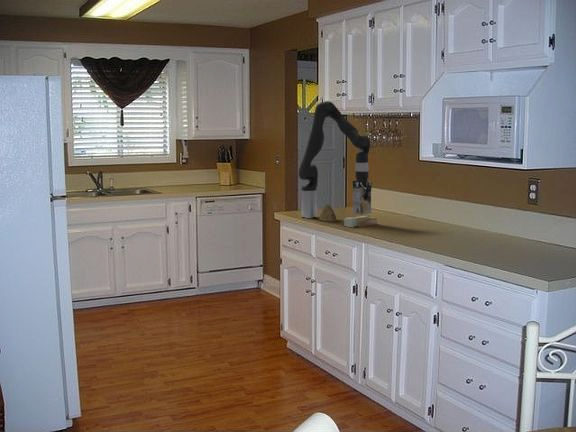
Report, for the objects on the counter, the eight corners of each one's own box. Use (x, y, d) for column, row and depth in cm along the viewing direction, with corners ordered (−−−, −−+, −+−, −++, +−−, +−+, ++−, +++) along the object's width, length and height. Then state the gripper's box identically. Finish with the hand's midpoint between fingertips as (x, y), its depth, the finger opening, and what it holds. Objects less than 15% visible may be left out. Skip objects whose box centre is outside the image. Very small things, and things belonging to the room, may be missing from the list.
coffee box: (363, 212, 395) (363, 185, 392) (371, 213, 390) (371, 186, 387) (352, 214, 389) (352, 186, 387) (360, 215, 384) (360, 187, 382)
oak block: (347, 224, 391) (347, 218, 391) (362, 222, 399) (362, 215, 398) (361, 227, 382) (361, 220, 381) (376, 224, 389) (376, 218, 388)
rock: (341, 217, 401) (334, 213, 410) (333, 207, 398) (327, 203, 407) (327, 229, 400) (321, 224, 409) (319, 218, 397) (313, 214, 406)
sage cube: (344, 226, 382) (344, 218, 381) (349, 225, 386) (349, 217, 385) (351, 227, 379) (351, 219, 378) (356, 226, 382) (356, 217, 382)
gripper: (348, 170, 389) (348, 198, 392) (365, 171, 378) (365, 200, 380) (358, 169, 394) (358, 197, 396) (375, 170, 382) (375, 199, 385)
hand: (362, 198), depth 388 cm, fingers closed on coffee box, 6 cm apart
